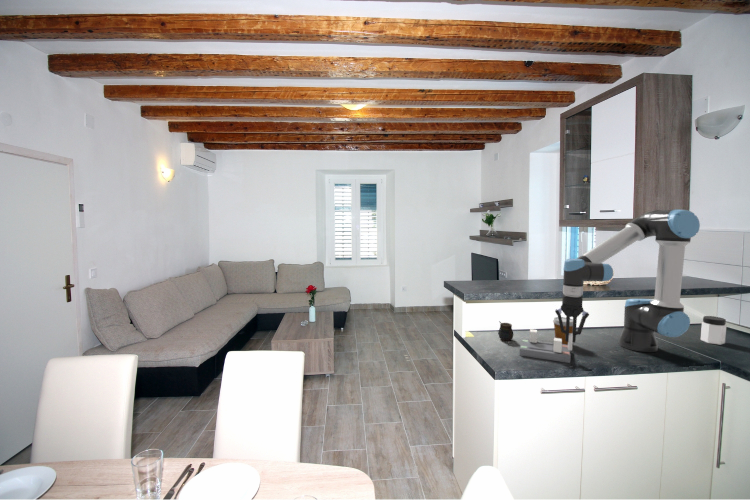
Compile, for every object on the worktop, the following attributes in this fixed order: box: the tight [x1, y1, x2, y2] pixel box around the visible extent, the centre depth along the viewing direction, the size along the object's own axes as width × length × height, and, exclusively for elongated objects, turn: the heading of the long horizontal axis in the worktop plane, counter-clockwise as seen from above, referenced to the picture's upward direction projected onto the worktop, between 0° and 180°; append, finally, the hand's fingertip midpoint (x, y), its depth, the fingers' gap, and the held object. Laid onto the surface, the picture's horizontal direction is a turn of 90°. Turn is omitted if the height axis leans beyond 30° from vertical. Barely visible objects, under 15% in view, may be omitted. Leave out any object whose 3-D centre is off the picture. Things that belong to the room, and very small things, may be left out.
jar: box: [700, 315, 727, 346], centre depth 179 cm, size 9×8×12 cm
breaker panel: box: [519, 338, 571, 364], centre depth 165 cm, size 20×15×3 cm
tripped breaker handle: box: [553, 337, 562, 353], centre depth 158 cm, size 3×4×5 cm
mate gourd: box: [497, 320, 514, 342], centre depth 183 cm, size 7×8×10 cm
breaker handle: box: [529, 328, 538, 343], centre depth 171 cm, size 3×4×5 cm
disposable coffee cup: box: [552, 316, 573, 345], centre depth 177 cm, size 10×10×12 cm
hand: (569, 349), depth 156 cm, fingers closed
